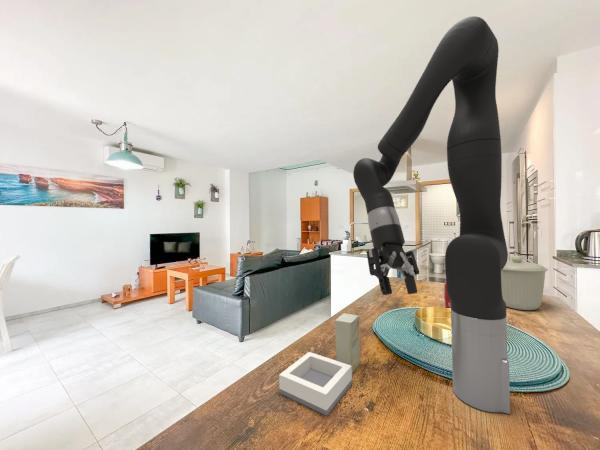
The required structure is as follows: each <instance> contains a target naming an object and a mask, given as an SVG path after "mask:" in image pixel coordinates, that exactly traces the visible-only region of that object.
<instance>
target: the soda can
mask: <svg viewBox="0 0 600 450" xmlns="http://www.w3.org/2000/svg"><path fill="white" fill-rule="evenodd" d="M443 289H444V291H443V296H444V308H445V309H446V308H451V302H450V299H449V297H448V293H447V285H446V281H445V283H444V284H443Z"/></svg>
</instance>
